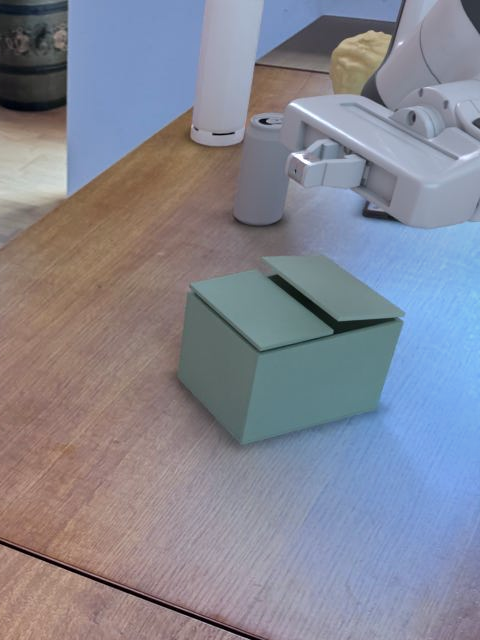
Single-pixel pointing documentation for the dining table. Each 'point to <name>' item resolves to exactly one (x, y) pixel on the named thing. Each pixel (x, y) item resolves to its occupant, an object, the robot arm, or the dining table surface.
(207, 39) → the bottle
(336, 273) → the flap
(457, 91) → the robot arm
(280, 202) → the beverage can
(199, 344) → the carton
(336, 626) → the dining table surface
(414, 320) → the dining table surface
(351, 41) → the sculpture
